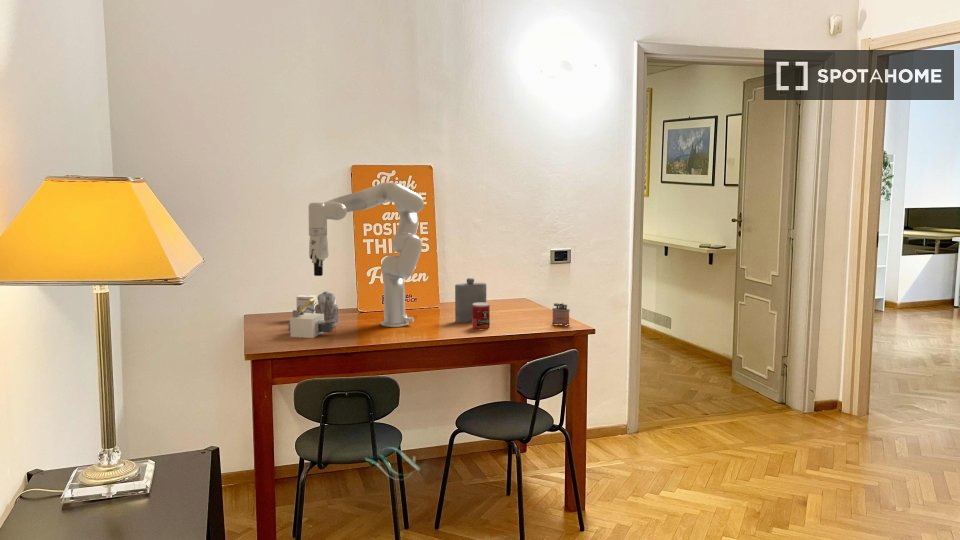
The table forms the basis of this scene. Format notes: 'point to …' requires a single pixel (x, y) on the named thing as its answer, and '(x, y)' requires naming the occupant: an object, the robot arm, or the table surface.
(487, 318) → the canned food
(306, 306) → the lever
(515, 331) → the table surface
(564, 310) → the lighter
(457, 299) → the flask
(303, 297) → the ink box
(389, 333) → the table surface
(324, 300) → the figurine
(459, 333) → the table surface
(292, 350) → the table surface
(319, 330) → the pin
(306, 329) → the block
